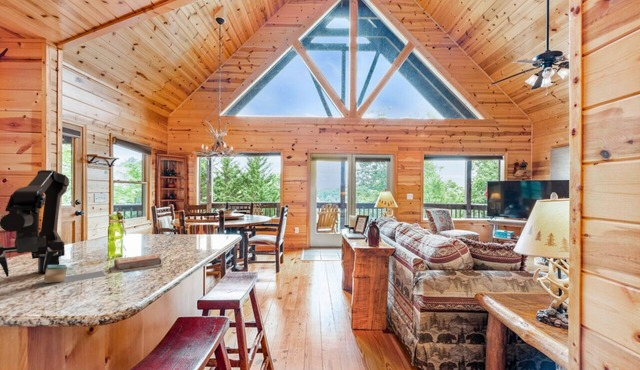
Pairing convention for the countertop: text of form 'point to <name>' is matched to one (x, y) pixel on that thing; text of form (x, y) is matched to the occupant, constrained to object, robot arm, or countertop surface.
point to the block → (55, 273)
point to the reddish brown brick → (136, 263)
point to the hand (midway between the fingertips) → (26, 273)
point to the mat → (72, 279)
